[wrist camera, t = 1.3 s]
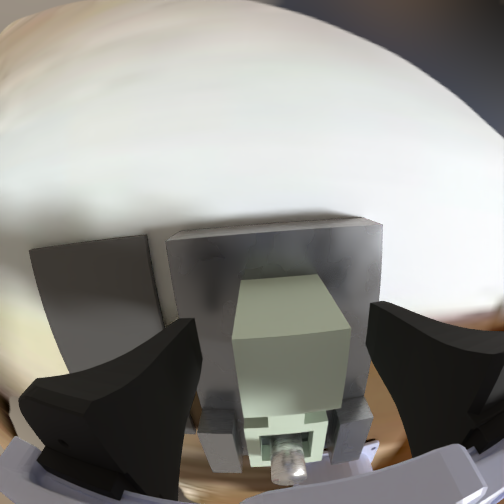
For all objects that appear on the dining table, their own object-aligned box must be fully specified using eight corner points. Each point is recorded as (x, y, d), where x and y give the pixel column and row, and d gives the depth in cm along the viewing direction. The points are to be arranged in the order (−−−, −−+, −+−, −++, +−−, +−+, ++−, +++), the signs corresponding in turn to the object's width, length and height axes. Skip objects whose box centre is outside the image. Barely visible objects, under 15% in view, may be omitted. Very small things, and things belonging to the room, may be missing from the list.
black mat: (196, 430, 18) (195, 434, 18) (95, 416, 19) (94, 418, 18) (146, 234, 15) (143, 235, 14) (32, 249, 15) (28, 250, 15)
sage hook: (318, 445, 16) (328, 500, 11) (251, 451, 16) (249, 507, 11) (331, 272, 12) (371, 324, 7) (226, 281, 12) (209, 340, 8)
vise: (344, 421, 18) (363, 483, 12) (220, 431, 18) (211, 497, 12) (363, 217, 14) (429, 243, 8) (179, 231, 14) (127, 266, 8)
